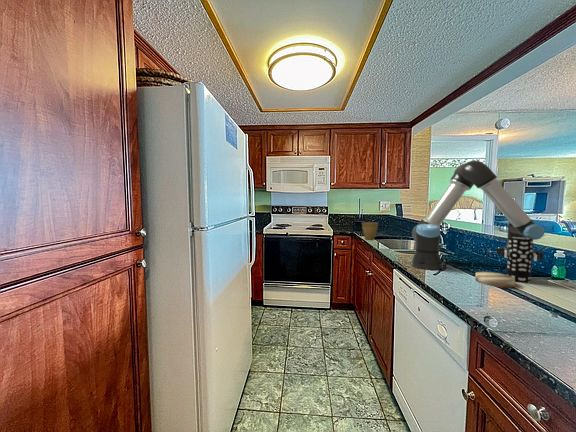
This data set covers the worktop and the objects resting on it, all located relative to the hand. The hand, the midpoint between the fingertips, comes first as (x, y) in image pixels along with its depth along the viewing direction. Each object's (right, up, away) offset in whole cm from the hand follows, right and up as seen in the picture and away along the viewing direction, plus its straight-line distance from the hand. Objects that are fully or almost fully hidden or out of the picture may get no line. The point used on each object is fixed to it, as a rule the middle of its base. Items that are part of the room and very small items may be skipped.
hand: (520, 256), depth 117 cm
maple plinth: (-11, -12, +1) cm, 17 cm away
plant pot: (-29, -4, +125) cm, 129 cm away
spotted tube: (+3, -12, +4) cm, 13 cm away
